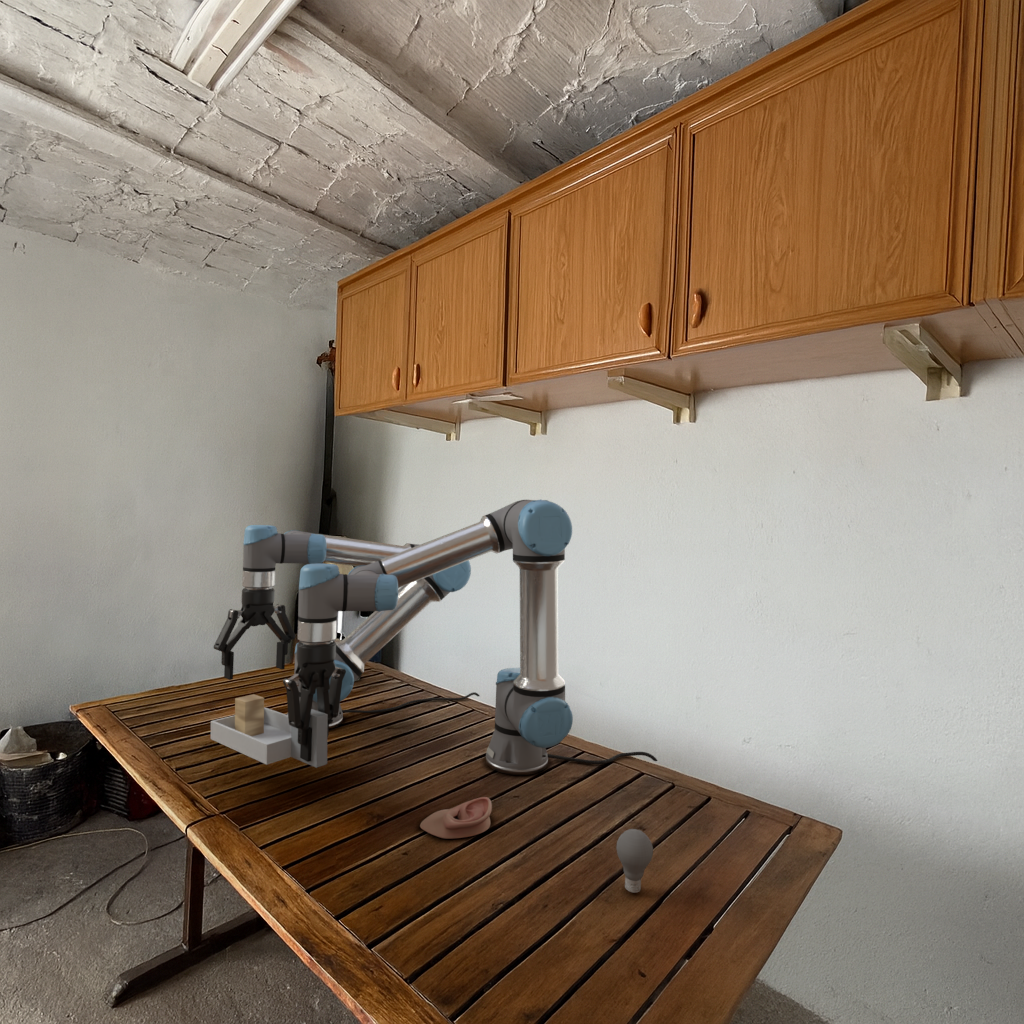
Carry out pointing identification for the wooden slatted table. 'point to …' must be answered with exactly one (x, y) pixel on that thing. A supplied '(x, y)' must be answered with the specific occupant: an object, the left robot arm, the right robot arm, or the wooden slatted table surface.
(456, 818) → the anatomical model
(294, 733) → the tray
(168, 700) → the wooden slatted table surface
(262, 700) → the birch block
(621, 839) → the light bulb
